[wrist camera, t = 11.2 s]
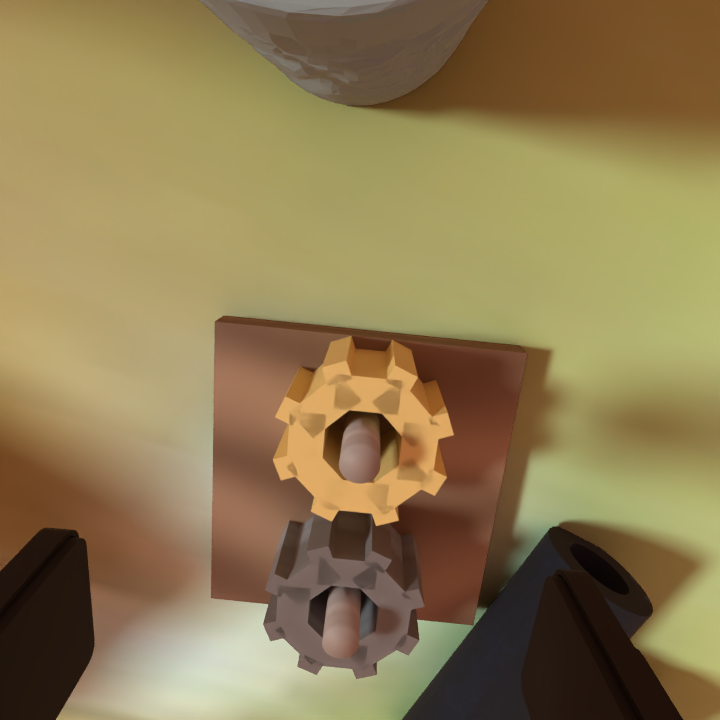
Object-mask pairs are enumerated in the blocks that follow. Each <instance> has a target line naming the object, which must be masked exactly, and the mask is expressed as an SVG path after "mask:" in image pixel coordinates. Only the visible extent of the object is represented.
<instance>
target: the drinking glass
mask: <svg viewBox="0 0 720 720" xmlns="http://www.w3.org/2000/svg"><path fill="white" fill-rule="evenodd" d="M200 1H201V2H202V3H203V4H204V5H205V6H206V7H207V8H209V9H210V10H211V11H212V12H213V13H214V14H215V15H216V16H217V17H218V18H219V19H220V20H222V21H223V22H224V23H225V24H226V25H227V26H228V27H229V28H230V29H231V30H233V31H234V32H235V33H236V34H237V35H239V36H240V37H241V38H243V39H244V40H245V41H246V42H248V43H249V44H250V45H252V46H253V48H254V49H255V50H256V51H258V52H259V53H260V54H261V55H262V56H263V57H265V58H266V59H267V60H268V61H270V62H271V63H272V64H274V65H275V66H276V67H277V68H279V69H280V70H281V71H282V72H283V73H284V74H285V75H286V76H287V77H288V78H289V79H290V80H291V81H293V82H294V83H296V84H297V85H299V86H300V87H302V88H303V89H304V90H306V91H308V92H310V93H312V94H314V95H316V96H318V97H320V98H322V99H325V100H328V101H332V102H335V103H340V104H345V105H347V106H353V105H358V106H362V105H374V104H379V103H384V102H387V101H390V100H393V99H396V98H399V97H401V96H404V95H406V94H407V93H409V92H411V91H413V90H415V89H416V88H418V87H419V86H421V85H422V84H423V83H425V82H426V81H427V80H429V79H430V78H431V77H432V76H433V75H434V74H435V73H437V72H438V71H439V70H440V69H441V68H442V66H443V65H444V64H445V63H446V62H447V60H448V59H449V58H450V56H451V55H452V54H453V53H454V51H455V50H456V48H457V46H458V45H459V43H460V42H461V40H462V39H463V37H464V36H465V34H466V33H467V31H468V29H469V27H470V25H471V24H472V23H473V21H474V20H475V19H476V17H477V16H478V14H479V13H480V12H481V10H482V9H483V8H484V6H485V5H486V3H487V2H488V0H200Z"/></svg>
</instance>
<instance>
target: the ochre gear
mask: <svg viewBox="0 0 720 720" xmlns="http://www.w3.org/2000/svg"><path fill="white" fill-rule="evenodd" d="M349 410H352V411H362V412H372V413H382V414H383V415H384V416H385V418H386V419H387V420H388V421H389V422H390V423H391V424H392V426H393V427H392V428H391V429H390V430H388V431H387V432H386V433H384V434H383V435H382V436H380V471H379V473H378V475H377V476H376V477H375V478H374V479H373V480H371V481H370V482H367V483H362V484H358V483H353V482H351V481H349V480H347V479H346V478H345V477H344V476H343V475H342V474H341V472H340V469H339V459H340V453H341V446H342V440H343V432H342V431H341V430H340V428H339V427H338V426H337V425H336V424H335V423H334V422H335V421H336V420H337V419H339V418H340V417H341V416H343V415H344V414H345V413H347V412H348V411H349ZM275 418H278V419H280V420H282V421H284V422H286V423H288V424H287V427H286V429H285V432H284V434H283V436H282V439H281V441H280V443H279V446H278V448H277V451H276V453H275V455H274V458H273V462H274V464H275V467H276V469H277V472H278V474H279V477H280V479H281V480H285V479H288V478H292V477H296V478H297V479H298V480H299V481H300V482H301V483H302V484H303V485H304V487H305V488H306V489H307V490H308V491H309V492H310V493H311V494H312V495H313V496H314V499H313V504H312V509H311V512H313V513H315V514H317V515H319V516H321V517H323V518H325V519H327V520H329V521H333V519H334V517H335V516H336V514H337V512H338V511H339V510H341V511H351V512H360V513H370V514H372V516H373V519H374V521H375V524H376V526H379V525H383V524H387V523H391V522H395V521H399V516H398V505H400V504H401V503H403V502H404V501H405V500H407V499H408V498H410V497H411V496H413V495H414V494H416V493H417V492H418V491H420V490H421V489H422V490H424V491H426V492H428V493H430V494H432V495H434V496H435V495H436V493H437V492H438V490H439V489H440V487H441V486H442V484H443V483H444V481H445V480H446V478H447V475H446V471H445V467H444V464H443V460H442V456H441V452H440V448H439V445H438V439H441V438H445V437H448V436H452V435H454V434H453V430H452V427H451V423H450V419H449V416H448V412H447V409H446V407H445V404H444V401H443V398H442V395H441V392H440V390H439V387H438V384H437V381H436V380H434V381H430V382H427V383H422V382H421V380H420V379H419V378H418V375H417V371H416V367H415V363H414V359H413V355H412V351H411V349H409V348H407V347H405V346H403V345H401V344H399V343H397V342H395V341H394V340H392V341H391V343H390V345H389V347H388V348H387V350H386V351H376V350H366V349H356V348H355V345H354V342H353V339H352V336H349V337H346V338H342V339H339V340H335V341H332V342H331V343H330V346H329V349H328V351H327V354H326V357H325V360H324V363H323V364H322V365H321V366H320V367H319V368H317V369H316V370H315V371H314V372H310V371H308V370H306V369H305V368H303V367H301V366H300V368H299V370H298V372H297V374H296V376H295V378H294V380H293V382H292V384H291V386H290V388H289V390H288V392H287V394H286V396H285V398H284V400H283V402H282V404H281V406H280V408H279V410H278V412H277V414H276V416H275Z"/></svg>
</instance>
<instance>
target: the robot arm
mask: <svg viewBox="0 0 720 720" xmlns="http://www.w3.org/2000/svg"><path fill="white" fill-rule="evenodd" d="M93 650H94V629H93V617H92V605H91V593H90V581H89V570H88V558H87V546H86V541H85V540H84V539H82V538H79V535H78V533H77V531H75V530H68V529H55V528H44V529H42V530H40V531H39V532H38V533H37V534H36V535H35V536H34V537H33V538H32V539H31V540H30V541H29V542H28V543H27V544H26V545H25V546H24V548H23V549H22V550H21V551H20V552H19V553H18V554H17V555H16V556H15V557H14V558H13V559H12V560H11V561H10V562H9V563H8V564H7V565H6V566H5V567H4V568H3V569H2V570H1V571H0V720H56V718H57V717H58V715H59V713H60V712H61V710H62V708H63V706H64V705H65V703H66V701H67V700H68V698H69V696H70V694H71V693H72V691H73V689H74V688H75V686H76V684H77V682H78V681H79V679H80V677H81V676H82V674H83V672H84V671H85V669H86V667H87V665H88V664H89V662H90V659H91V657H92V654H93ZM521 688H522V693H523V697H524V700H525V703H526V706H527V709H528V712H529V715H530V718H531V720H683V719H682V717H681V716H680V714H679V712H678V711H677V709H676V708H675V706H674V704H673V703H672V701H671V699H670V698H669V696H668V695H667V693H666V691H665V690H664V688H663V687H662V685H661V683H660V682H659V680H658V679H657V677H656V675H655V674H654V672H653V670H652V669H651V667H650V666H649V664H648V662H647V661H646V659H645V658H644V656H643V655H642V654H641V653H640V651H639V650H638V649H636V648H635V647H634V646H633V644H632V642H631V641H630V639H629V638H628V636H627V634H626V633H625V631H624V629H623V628H622V626H621V624H620V623H619V621H618V620H617V618H616V616H615V615H614V613H613V611H612V610H611V608H610V607H609V605H608V603H607V602H606V600H605V598H604V597H603V595H602V593H601V592H600V590H599V589H598V587H597V585H596V584H595V582H594V580H593V579H592V577H591V576H590V575H589V573H588V572H586V571H578V570H566V569H557V570H556V571H555V572H554V575H553V576H547V578H546V580H545V583H544V587H543V590H542V594H541V598H540V602H539V606H538V610H537V614H536V618H535V622H534V626H533V630H532V634H531V638H530V641H529V645H528V649H527V653H526V657H525V661H524V665H523V669H522V673H521Z"/></svg>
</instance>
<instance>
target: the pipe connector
mask: <svg viewBox="0 0 720 720" xmlns="http://www.w3.org/2000/svg"><path fill="white" fill-rule="evenodd" d="M557 569H566V570H578V571H586V572H588V573H589V575H590V576H591V577H592V579H593V580H594V582H595V584H596V585H597V587H598V589H599V590H600V592H601V593H602V595H603V597H604V598H605V600H606V602H607V603H608V605H609V607H610V608H611V610H612V611H613V613H614V615H615V616H616V618H617V620H618V621H619V623H620V624H621V626H622V628H623V629H624V631H625V633H626V634H627V636H628V638H629V639H630V638H631V637H632V636H633V635H634V634H635V632H636V631H637V630H638V629H639V628H640V627H641V626H642V625H643V624H644V622H645V621H646V620H647V619H648V618H649V617H650V616H651V615H652V612H653V608H652V604H651V602H650V600H649V598H648V596H647V595H646V593H645V592H644V590H643V589H642V588H641V586H640V585H639V584H638V583H637V581H636V580H635V579H634V578H633V577H632V576H631V575H630V574H629V573H628V572H627V571H626V570H625V569H624V568H623V567H622V566H621V565H620V564H619V563H618V562H617V561H616V560H614V559H613V558H612V557H611V556H610V555H608V554H607V553H606V552H605V551H603V550H602V549H601V548H599V547H597V546H595V545H593V544H592V543H590V542H588V541H586V540H584V539H582V538H580V537H578V536H576V535H574V534H572V533H570V532H568V531H567V530H565V529H563V528H561V527H558V526H557V527H552V528H550V529H549V530H548V532H547V533H546V534H545V536H544V537H543V538H542V540H541V541H540V542H539V543H538V545H537V546H536V547H535V549H534V550H533V551H532V552H531V554H530V555H529V556H528V558H527V559H526V560H525V561H524V563H523V564H522V565H521V567H520V568H519V569H518V570H517V572H516V573H515V574H514V576H513V577H512V578H511V580H510V581H509V582H508V583H507V585H506V586H505V587H504V589H503V590H502V591H501V592H500V594H499V595H498V596H497V598H496V599H495V600H494V601H493V603H492V604H491V605H490V607H489V608H488V609H487V611H486V612H485V613H484V614H483V616H482V617H481V618H480V620H479V621H478V622H477V623H476V625H475V626H474V627H473V629H472V630H471V631H470V632H469V634H468V635H467V636H466V638H465V639H464V640H463V642H462V643H461V644H460V645H459V647H458V648H457V649H456V651H455V652H454V653H453V654H452V656H451V657H450V658H449V660H448V661H447V662H446V663H445V665H444V666H443V667H442V669H441V670H440V671H439V673H438V674H437V675H436V676H435V678H434V679H433V680H432V682H431V683H430V684H429V685H428V687H427V688H426V689H425V691H424V692H423V693H422V694H421V696H420V697H419V698H418V700H417V701H416V702H415V704H414V705H413V706H412V707H411V709H410V710H409V711H408V713H407V714H406V715H405V716H404V718H403V719H402V720H531V718H530V715H529V712H528V709H527V706H526V703H525V700H524V697H523V693H522V688H521V673H522V669H523V665H524V661H525V657H526V653H527V649H528V645H529V641H530V638H531V634H532V630H533V626H534V622H535V618H536V614H537V610H538V606H539V602H540V598H541V594H542V590H543V587H544V583H545V580H546V578H547V576H553V575H554V572H555V571H556V570H557Z"/></svg>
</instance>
